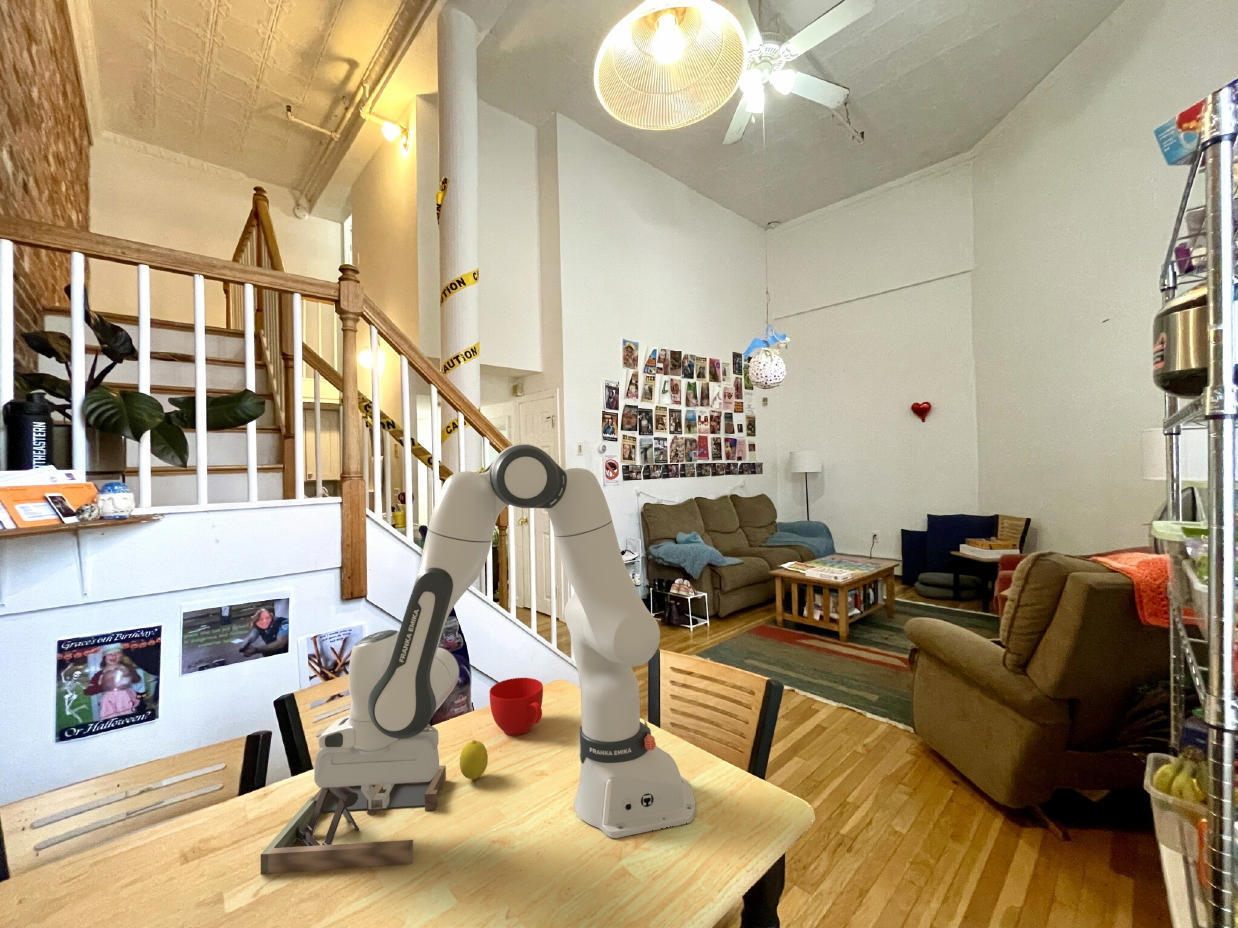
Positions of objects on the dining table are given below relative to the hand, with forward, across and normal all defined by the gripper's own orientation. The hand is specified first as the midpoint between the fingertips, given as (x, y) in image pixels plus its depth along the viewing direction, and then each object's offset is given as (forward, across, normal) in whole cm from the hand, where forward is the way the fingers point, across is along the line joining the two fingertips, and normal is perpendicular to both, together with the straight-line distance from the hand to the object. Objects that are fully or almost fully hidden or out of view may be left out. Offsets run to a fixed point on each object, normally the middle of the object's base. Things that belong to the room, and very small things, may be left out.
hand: (379, 806), depth 88 cm
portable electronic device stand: (+5, +8, 0) cm, 10 cm away
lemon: (+5, -13, -15) cm, 20 cm away
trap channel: (+5, +4, -4) cm, 7 cm away
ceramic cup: (+5, -20, -34) cm, 40 cm away
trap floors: (+5, +4, -10) cm, 12 cm away
